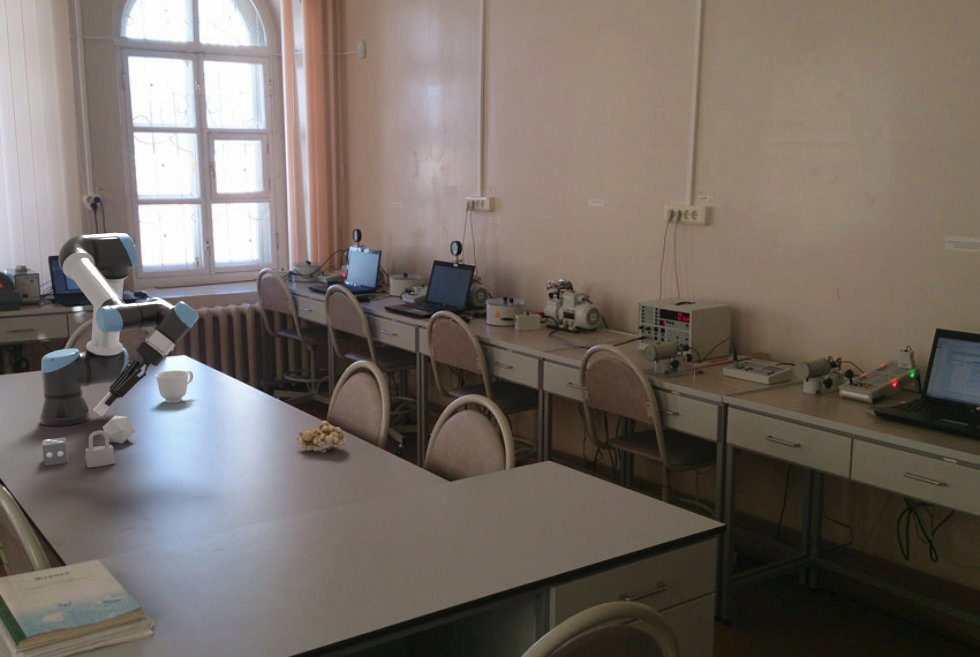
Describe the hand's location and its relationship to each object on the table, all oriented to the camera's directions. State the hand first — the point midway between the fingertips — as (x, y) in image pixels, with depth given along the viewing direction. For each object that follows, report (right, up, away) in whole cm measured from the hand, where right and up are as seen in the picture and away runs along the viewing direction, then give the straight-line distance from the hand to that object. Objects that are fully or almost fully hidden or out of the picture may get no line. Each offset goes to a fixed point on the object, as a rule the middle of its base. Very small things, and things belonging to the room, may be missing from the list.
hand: (97, 413), depth 256 cm
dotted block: (-14, -14, +6) cm, 21 cm away
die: (-4, -11, +25) cm, 27 cm away
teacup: (-3, -3, +75) cm, 75 cm away
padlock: (0, -15, +2) cm, 15 cm away
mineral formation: (+61, -13, +15) cm, 64 cm away
